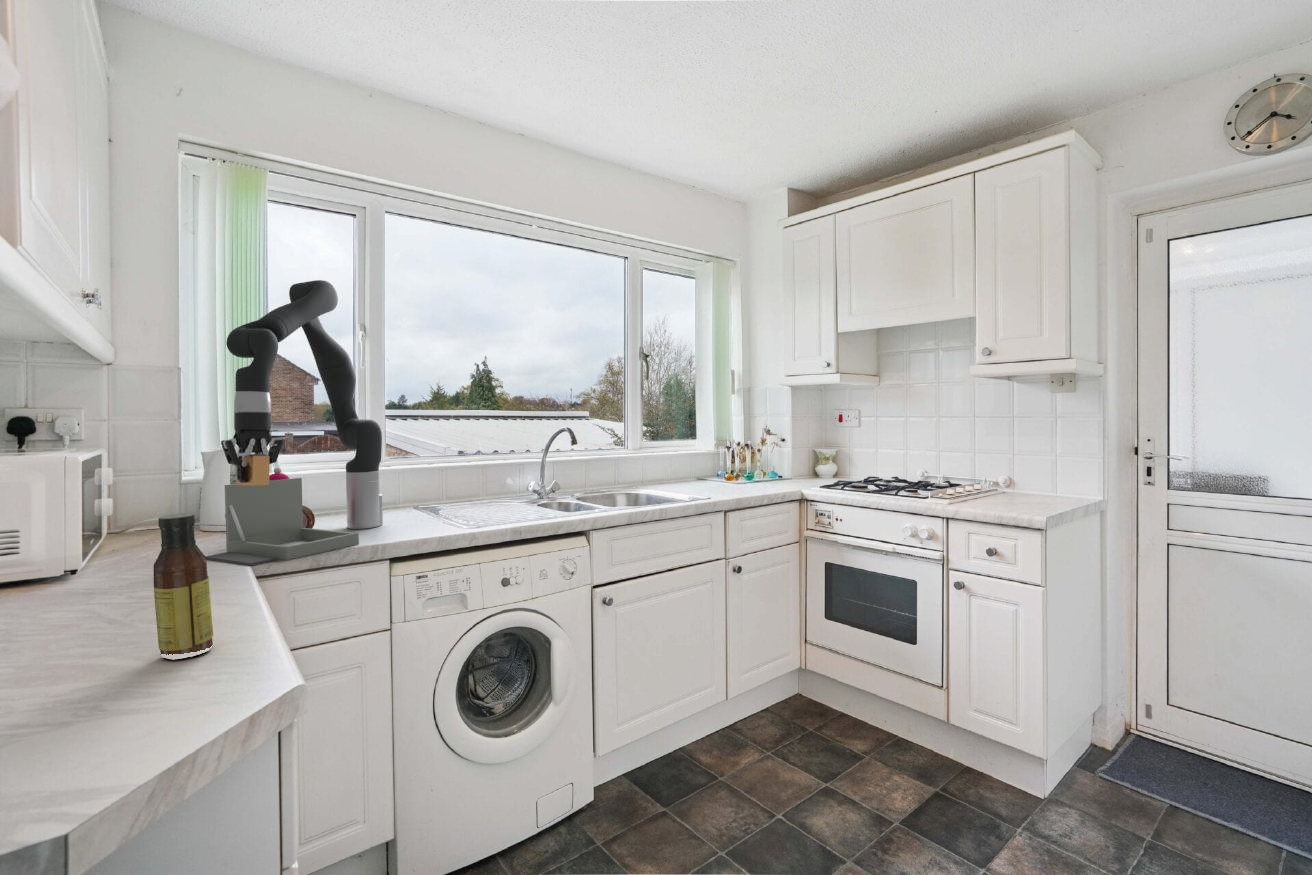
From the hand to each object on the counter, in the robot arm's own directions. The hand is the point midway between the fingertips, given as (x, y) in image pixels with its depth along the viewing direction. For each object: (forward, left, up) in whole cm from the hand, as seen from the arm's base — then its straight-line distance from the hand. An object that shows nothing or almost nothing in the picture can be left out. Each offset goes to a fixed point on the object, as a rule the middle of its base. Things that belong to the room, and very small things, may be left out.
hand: (252, 481), depth 151 cm
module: (0, 0, -1) cm, 1 cm away
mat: (+4, 0, -18) cm, 19 cm away
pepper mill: (-17, -17, -19) cm, 31 cm away
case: (-10, 0, -18) cm, 21 cm away
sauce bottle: (+45, +55, -19) cm, 73 cm away
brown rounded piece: (-23, -22, -19) cm, 37 cm away
